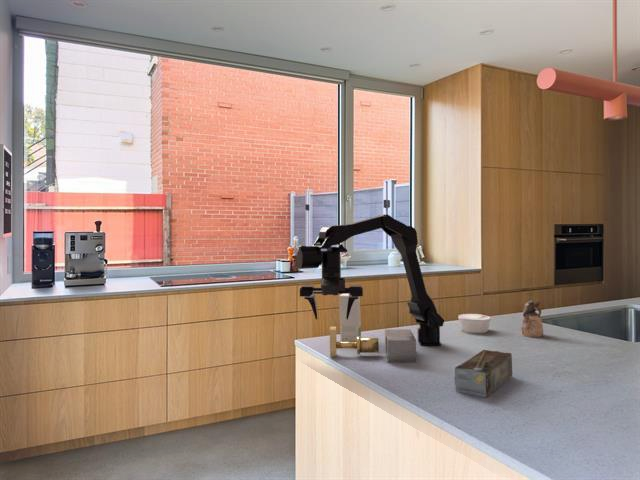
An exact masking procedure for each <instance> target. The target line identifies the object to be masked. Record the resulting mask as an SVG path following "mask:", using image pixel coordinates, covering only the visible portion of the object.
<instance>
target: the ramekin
mask: <svg viewBox="0 0 640 480" xmlns="http://www.w3.org/2000/svg"><path fill="white" fill-rule="evenodd" d="M457 318H458V323H459V329H460V330H461V331H462V332H464V333H469V334H485V333H487V332H488V331H489V329H490V328H489V327H490V324H491V323H490V321H491V320H492V318H491V317H490V316H489V315H485V314H481V313H463V314H459V315H458V317H457Z"/></svg>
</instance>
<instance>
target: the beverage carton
mask: <svg viewBox="0 0 640 480" xmlns="http://www.w3.org/2000/svg"><path fill="white" fill-rule="evenodd" d="M512 358H513V357H512V353H511V352H501V351H497V350H489V349H483V350H481V351H479V352H478V353H477V354H475V355H474V356H472V357H470V358H469V359H467V360H465V361H464V362H463V363H461V364H458V366H455V368H454V385H455V386H454V387H455V391H456V392H457V393H464V394H466V395H467V394H468V395H471V396H477V397H482V398H488V397H489V396H490V395H491V394H493V393H494V392H495V391H496V390H498V388H500V387H501V386H502V385H503V384H504V383H505V382H507V381H508V380H509V379H510V378H512V377H513V359H512Z"/></svg>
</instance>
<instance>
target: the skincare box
mask: <svg viewBox="0 0 640 480" xmlns="http://www.w3.org/2000/svg"><path fill="white" fill-rule="evenodd" d="M348 298H349V294H340V295H339V297H338V299H339V301H338V302H339V329H340V333H339V334H340V342H357V336H360V338H362V330H361V329H362V328H361V324H362V323H361V322H362V321H361V301H360V299H361V296H358V299H355V300H354V302H353V305H352V307H351V310H350V314H349V317H348V319H346V314H347V306H348Z"/></svg>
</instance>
